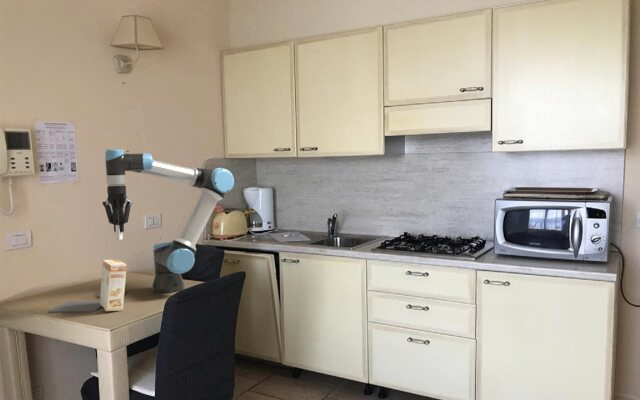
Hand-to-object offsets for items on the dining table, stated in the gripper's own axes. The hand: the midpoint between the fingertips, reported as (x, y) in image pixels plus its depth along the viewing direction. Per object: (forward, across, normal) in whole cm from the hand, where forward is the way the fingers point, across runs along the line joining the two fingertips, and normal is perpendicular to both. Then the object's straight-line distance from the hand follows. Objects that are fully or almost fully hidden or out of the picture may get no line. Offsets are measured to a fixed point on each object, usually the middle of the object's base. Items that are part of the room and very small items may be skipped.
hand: (119, 239), depth 224 cm
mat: (+29, +18, +3) cm, 35 cm away
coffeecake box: (+29, +3, +4) cm, 29 cm away
